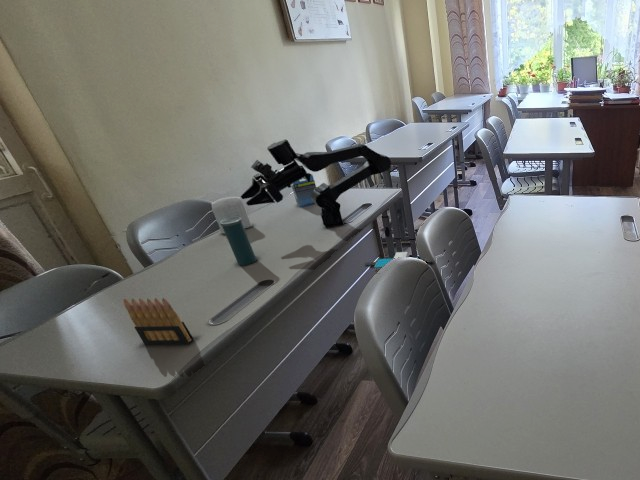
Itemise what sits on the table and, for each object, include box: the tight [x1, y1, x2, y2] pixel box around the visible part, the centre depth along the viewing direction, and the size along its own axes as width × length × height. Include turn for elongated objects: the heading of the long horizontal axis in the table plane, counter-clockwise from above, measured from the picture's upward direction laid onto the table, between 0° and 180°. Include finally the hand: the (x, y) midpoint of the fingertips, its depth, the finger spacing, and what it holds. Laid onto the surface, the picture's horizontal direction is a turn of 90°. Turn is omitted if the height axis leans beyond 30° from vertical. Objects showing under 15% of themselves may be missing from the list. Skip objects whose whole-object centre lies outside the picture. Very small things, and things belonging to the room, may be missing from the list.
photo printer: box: [210, 196, 252, 235], centre depth 148 cm, size 10×4×12 cm, turn 134°
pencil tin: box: [220, 217, 257, 266], centre depth 123 cm, size 6×6×14 cm
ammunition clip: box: [123, 297, 194, 346], centre depth 89 cm, size 11×2×12 cm, turn 88°
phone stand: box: [364, 251, 432, 274], centre depth 121 cm, size 20×12×2 cm, turn 91°
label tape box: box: [291, 174, 317, 208], centre depth 171 cm, size 9×4×12 cm, turn 130°
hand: (244, 201), depth 130 cm, fingers open, 9 cm apart
